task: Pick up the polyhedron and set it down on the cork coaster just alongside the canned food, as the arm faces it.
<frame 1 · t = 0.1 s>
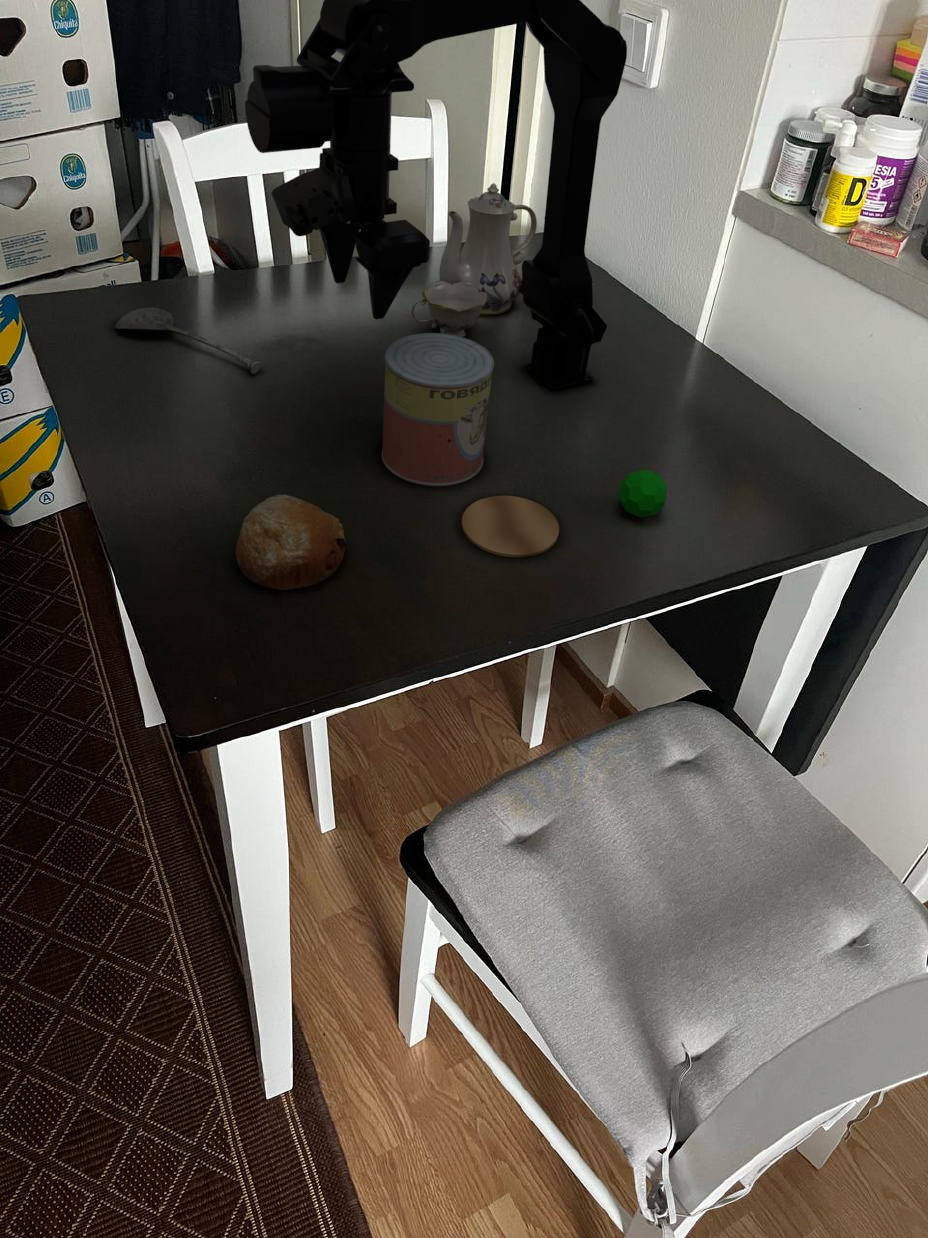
hand: (358, 299, 104), 15 cm above the table, tool pointing down, fingers open, 9 cm apart
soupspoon: (188, 348, 124), on the table
canned food: (432, 458, 110), on the table
chinaware: (493, 312, 138), on the table
bread roll: (292, 560, 95), on the table
coaster: (510, 527, 101), on the table
polyhedron: (637, 513, 105), on the table
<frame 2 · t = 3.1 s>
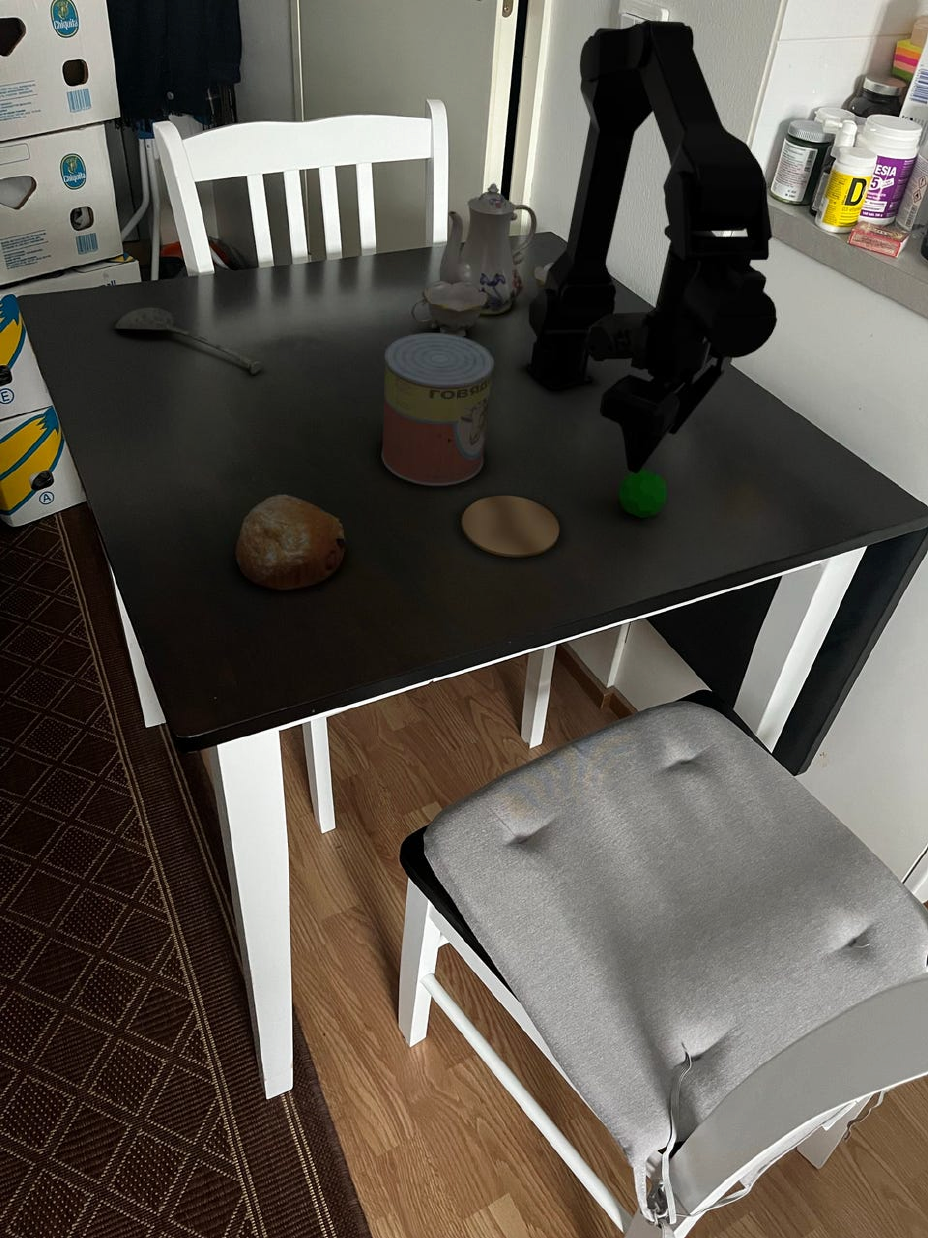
hand: (652, 451, 100), 8 cm above the table, tool pointing down, fingers open, 9 cm apart
nothing on the table moved.
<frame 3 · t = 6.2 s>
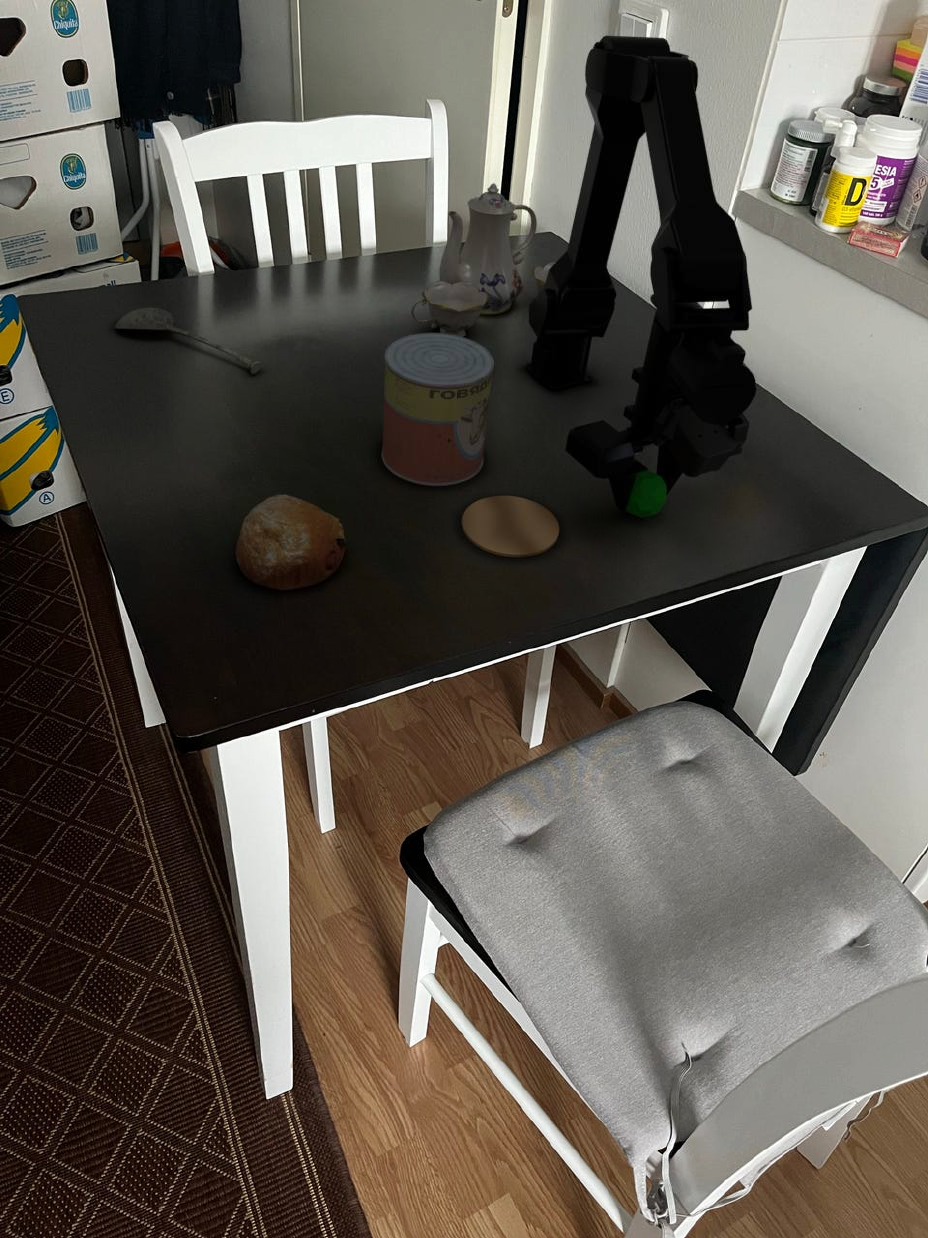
hand: (640, 502, 104), 1 cm above the table, tool pointing down, fingers closed on polyhedron, 5 cm apart
polyhedron: (637, 513, 105), on the table, touching gripper
everything else where it was.
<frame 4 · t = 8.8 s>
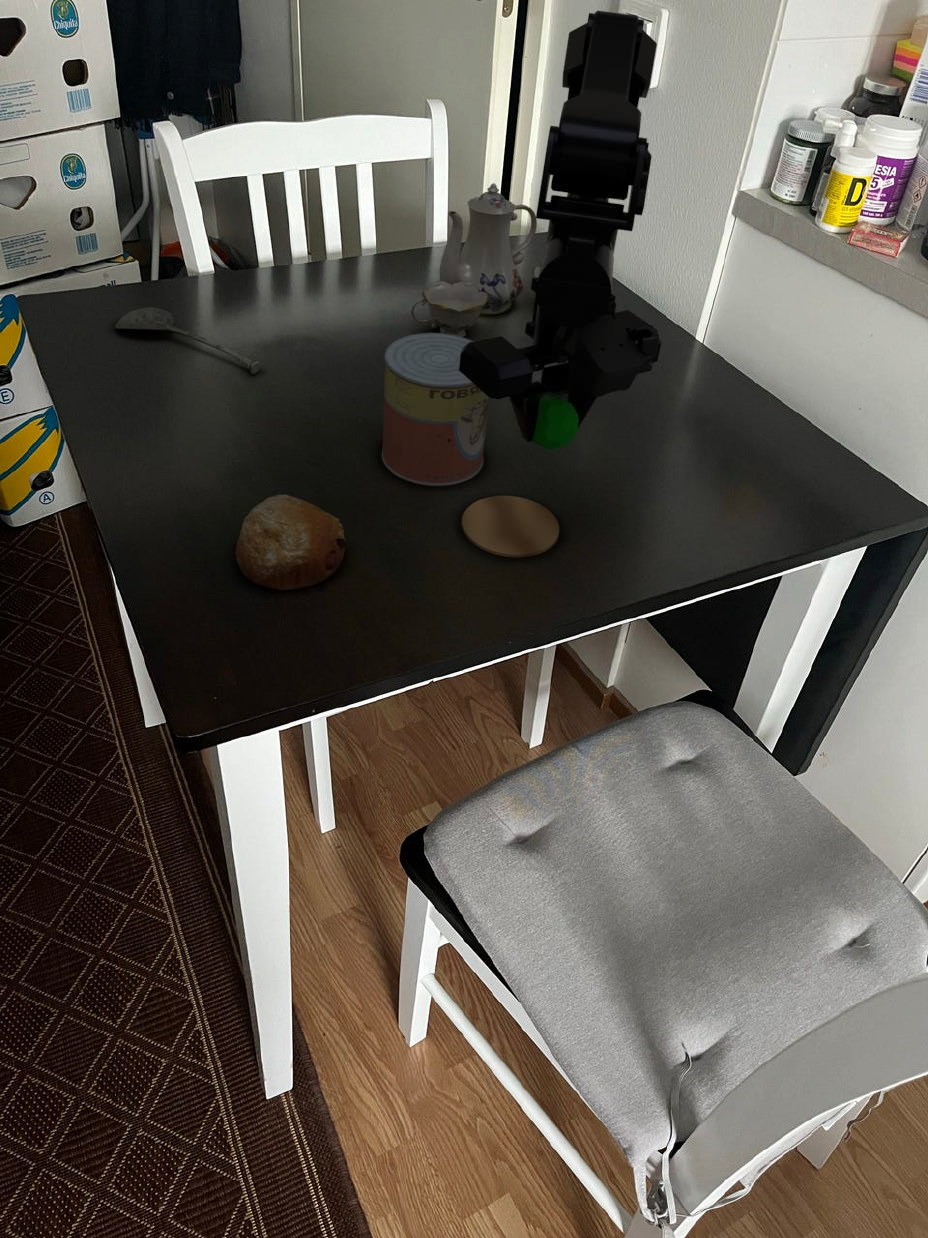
hand: (549, 433, 95), 11 cm above the table, tool pointing down, fingers closed on polyhedron, 5 cm apart
polyhedron: (548, 446, 95), point 9 cm above the table, touching gripper
everything else where it was.
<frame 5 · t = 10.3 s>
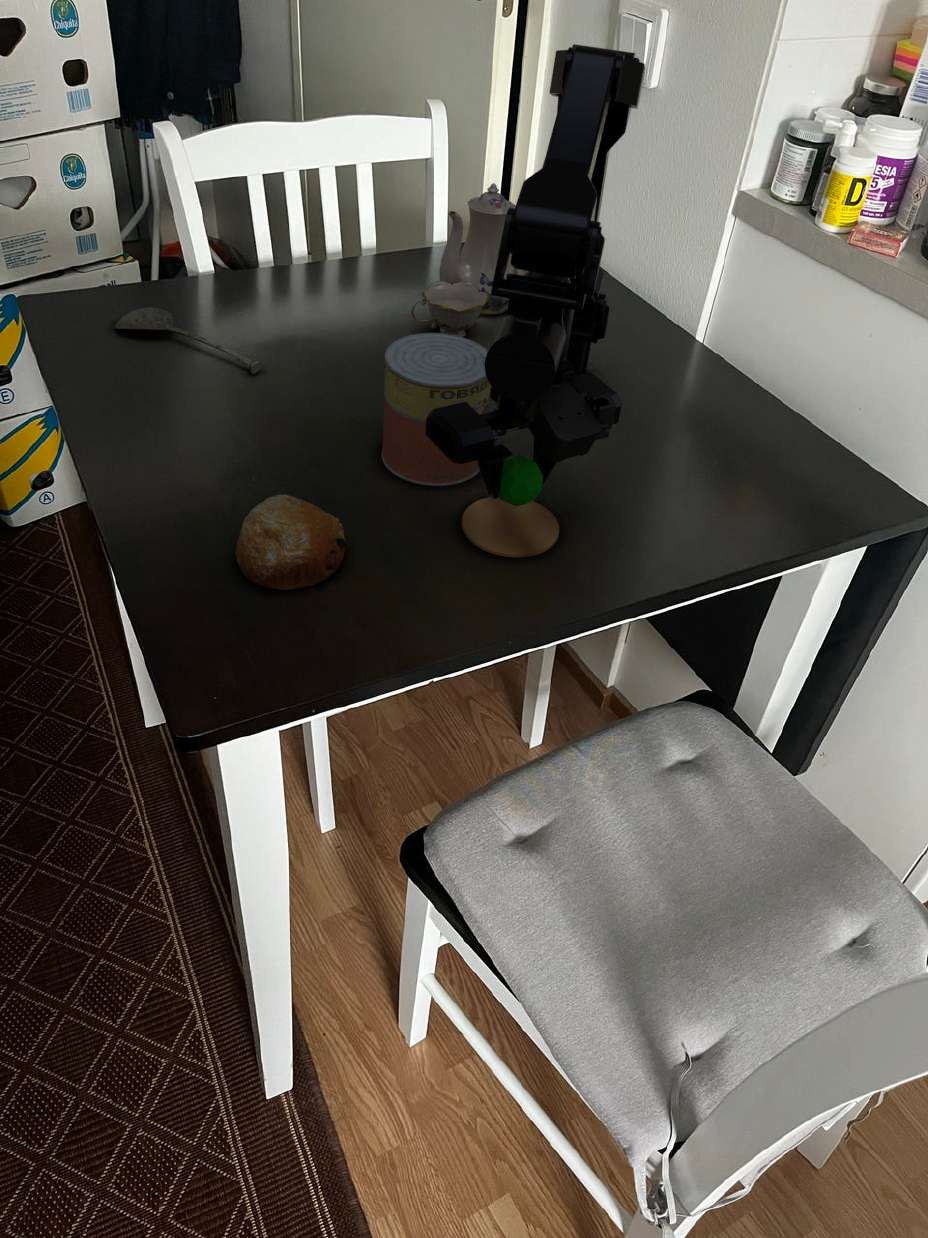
hand: (515, 490, 98), 4 cm above the table, tool pointing down, fingers closed on polyhedron, 5 cm apart
polyhedron: (514, 502, 99), point 3 cm above the table, touching gripper
everything else where it was.
when the fingers open (2 cm above the table, at t = 11.4 s): polyhedron stays where it is, resting on coaster.
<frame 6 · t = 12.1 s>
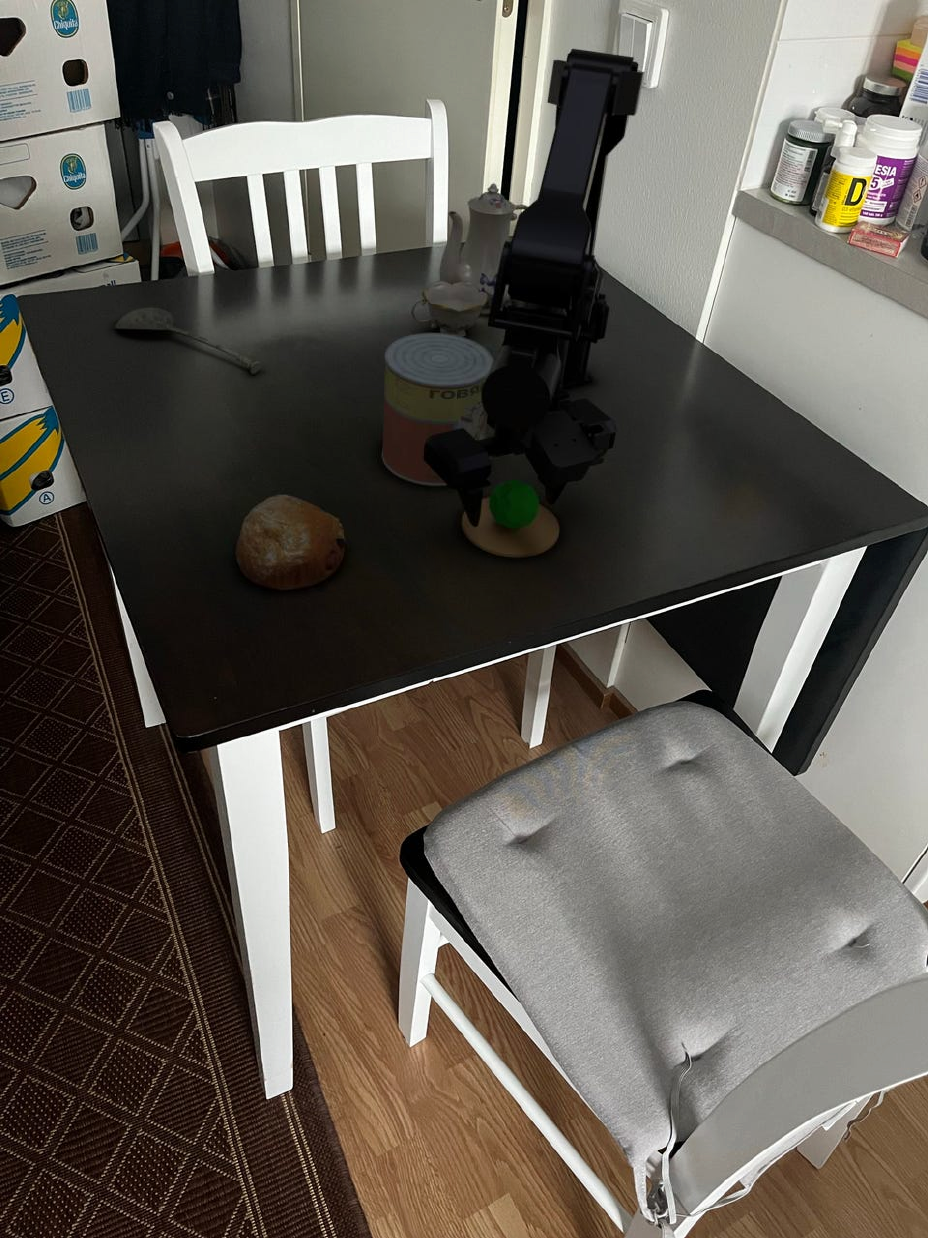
hand: (512, 513, 100), 2 cm above the table, tool pointing down, fingers open, 9 cm apart
polyhedron: (511, 524, 101), resting on coaster
everything else where it was.
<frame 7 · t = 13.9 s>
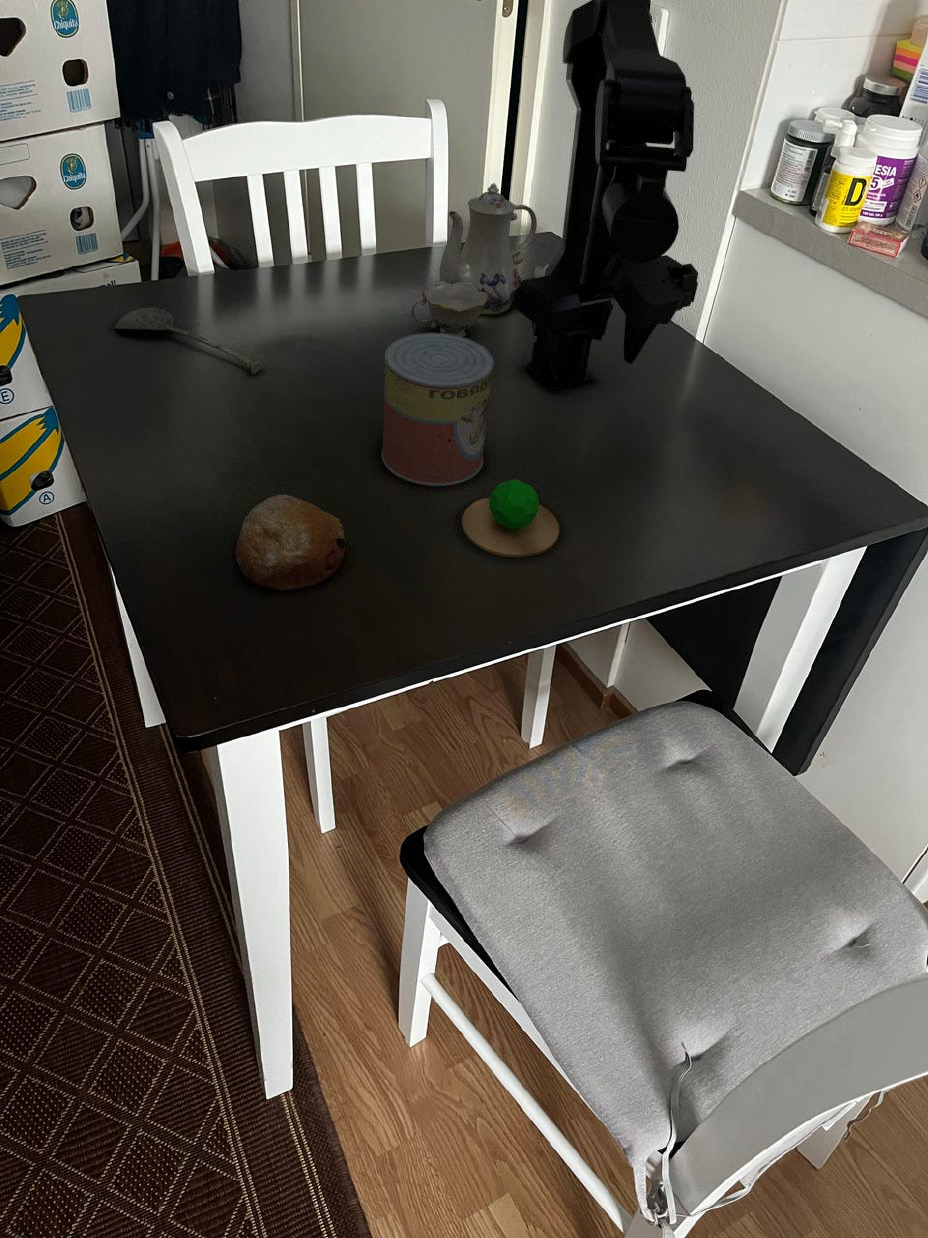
hand: (593, 369, 102), 12 cm above the table, tool pointing down, fingers open, 9 cm apart
nothing on the table moved.
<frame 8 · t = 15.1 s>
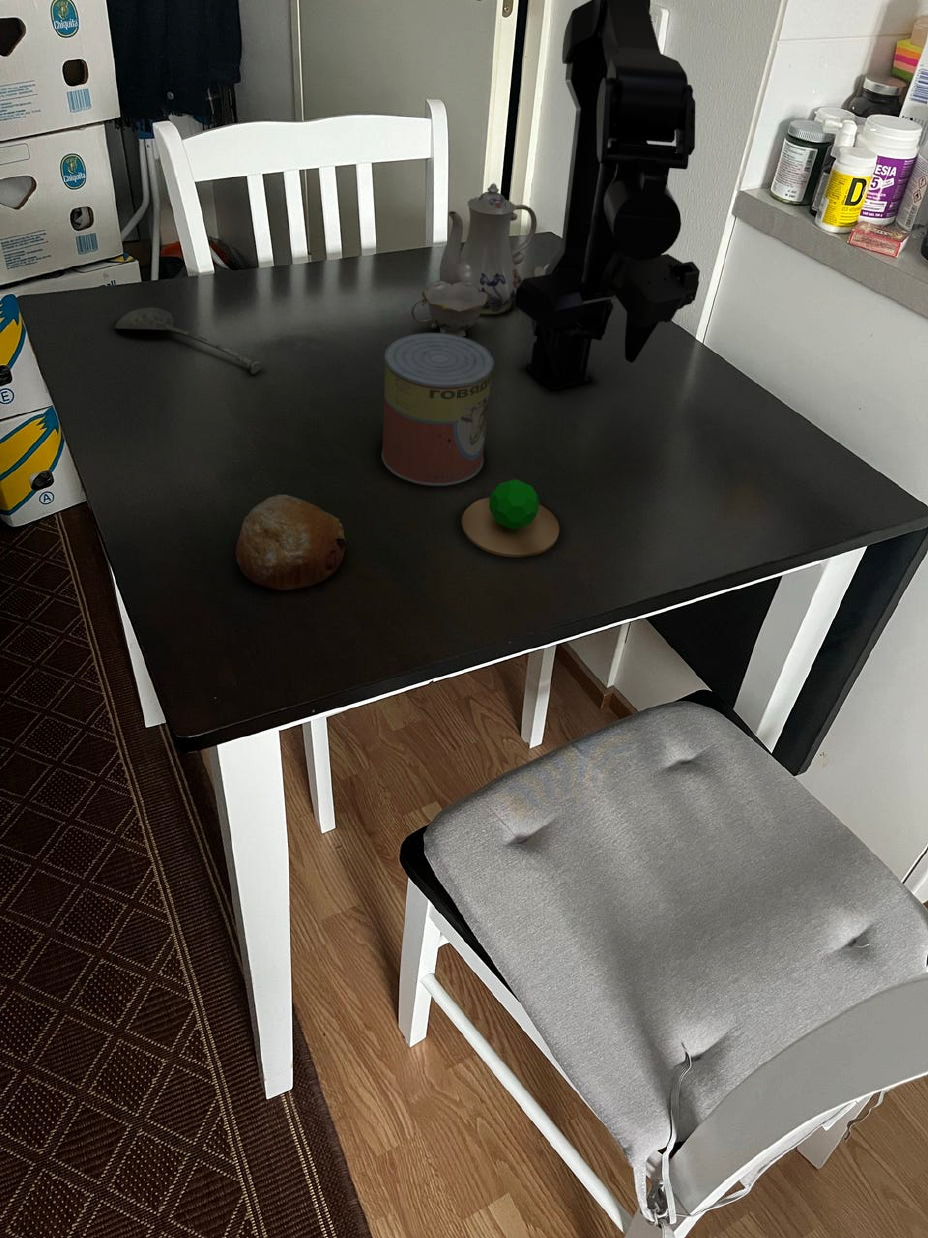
hand: (594, 368, 102), 12 cm above the table, tool pointing down, fingers open, 9 cm apart
nothing on the table moved.
at the end: polyhedron inside the target area on the table beside the canned food (0.1 cm from its centre), resting on coaster; polyhedron 0.1 cm from the coaster (horizontally); canned food moved 0.2 cm from its start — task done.
